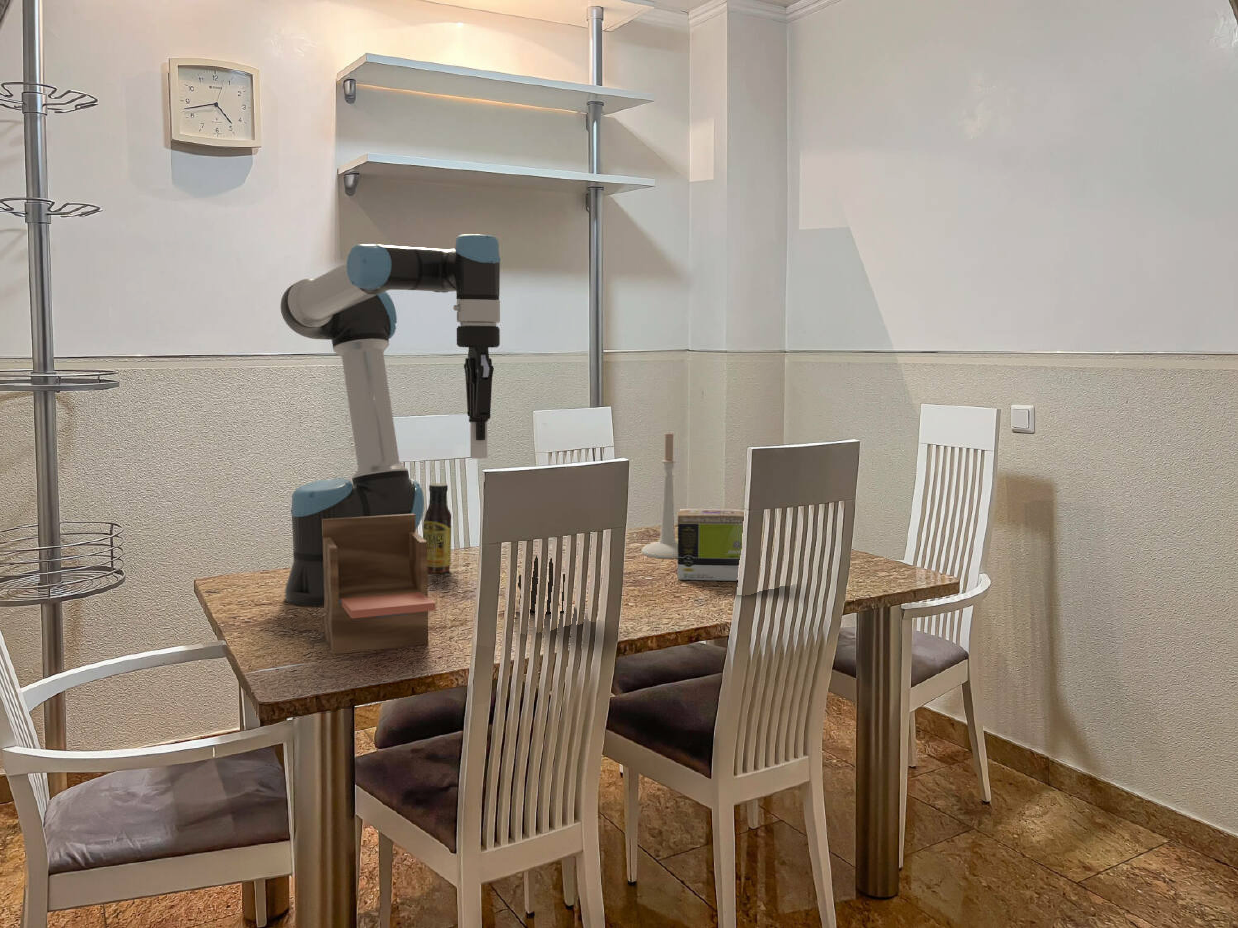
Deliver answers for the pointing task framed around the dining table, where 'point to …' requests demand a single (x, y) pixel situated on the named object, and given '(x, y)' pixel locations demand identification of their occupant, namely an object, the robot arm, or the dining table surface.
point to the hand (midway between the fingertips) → (478, 457)
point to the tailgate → (387, 605)
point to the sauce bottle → (438, 530)
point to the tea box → (709, 543)
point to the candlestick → (666, 511)
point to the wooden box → (373, 580)
